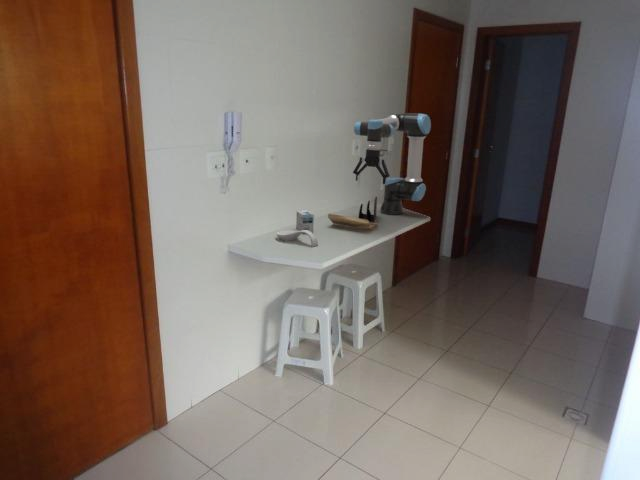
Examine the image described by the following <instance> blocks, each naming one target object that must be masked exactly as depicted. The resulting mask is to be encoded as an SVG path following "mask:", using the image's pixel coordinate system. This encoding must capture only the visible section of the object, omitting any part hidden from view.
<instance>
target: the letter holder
mask: <svg viewBox="0 0 640 480" xmlns="http://www.w3.org/2000/svg"><path fill="white" fill-rule="evenodd" d="M370 203H371V201H370V200H368V202H367V204H366V213H363V206H364V204H363V203H361V204H360V207H359V210H358V218H360V219H366V220H369V222H372V223H376V218H377V205H378V197H377V196H375V198H374V203H373V214H372V213H371V210H370Z"/></svg>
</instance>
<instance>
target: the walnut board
mask: <svg viewBox="0 0 640 480" xmlns="http://www.w3.org/2000/svg"><path fill="white" fill-rule="evenodd" d="M370 224H371V225H372V230H371V231H374V230H375V229H376V228H378V227H379V223H378V222H375V223H372V222H370ZM337 225H339V224H337ZM339 226H340V225H339ZM343 226H345V225H343ZM350 227H351V226H349V228H350ZM351 228H352V227H351ZM355 228H356V229H357V227H355ZM361 229H363V228H361ZM363 230H364V229H363ZM367 230H369V229H367ZM369 231H370V230H369Z"/></svg>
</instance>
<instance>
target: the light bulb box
mask: <svg viewBox="0 0 640 480" xmlns="http://www.w3.org/2000/svg"><path fill="white" fill-rule="evenodd" d="M314 219H315V215H314V213H313V212H310V210H308V209H307V210H305V209H304V210H303V209H299V210H298V209H297V210H296V221H295V224H296V225H295V228H296V231H301V230H308V231H310V232H312V233H313V234H314V225H315V224H314V223H315V220H314ZM303 234H305V233H302V234H301V235H303Z"/></svg>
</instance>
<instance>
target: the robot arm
mask: <svg viewBox="0 0 640 480" xmlns="http://www.w3.org/2000/svg"><path fill="white" fill-rule="evenodd" d="M431 122H432V121H431V119H430V116H429V115H428V114H425V113H417V112H415V113H413V112H412V113H411V112H400V113H396V114H392V115H388V116H387V117H385V118H379V119H369V120H368V121H357V122H356V123H355V124H354V126H353V132H354V134H355V135H356V136H360V137H367V138H366V146H365V147H366V150H365V157H363V156H361V157H359V161H358V163H357V165H356V166H355V168H354V170H353V171H352V173H353V174H355V182H356V188H359V187H361V177H362V175H361V173H362V172H363V171H364V170H366V168H367V167H372V168H376V169H377V170H378V172H379V174H380V176H381V178H380V179H381V181H380V191H383V190H384V195H383V202H382V204H381V206H380V210H379V212H380V213H381V214H385V215H389V216H390V215H391V216H400V215H403V214H404V207H403V203H402V199H403V200H408V201H411V202H419V201H421V200H422V199H423V198H424V196H425V193H426V191H427V186H426V184H425V183H423V181H424V179H422V176H421V175H422V164H423V163H422V162H423V151H424V140H425V139H426V137H427V135H429V133H430V131H431V129H432V128H431V127H432V123H431ZM395 132H401V133H406V137H407V138H408V152H407V153H408V155H407V169H406V177H405V178H404V177H390V176H391V175H390V173H389V170H388V167H387V164H386V159H385V158H383V159H381V158H380V155H381V150H380V149H381V145H382V139H387V138H391V137H393V135H394V134H395ZM363 162H365V163H364V164H363ZM362 164H363V166H362ZM380 164H381V166H382V167H381V166H380ZM360 167H361V168H360Z"/></svg>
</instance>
